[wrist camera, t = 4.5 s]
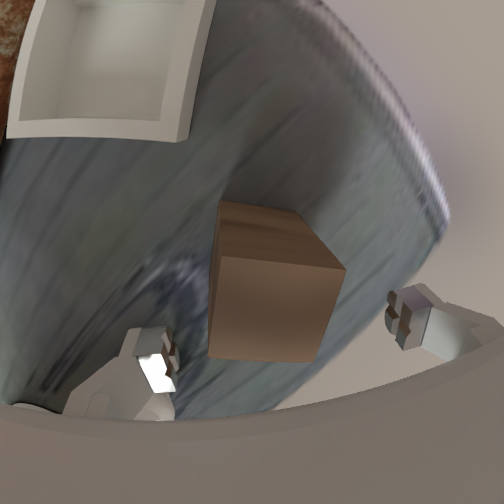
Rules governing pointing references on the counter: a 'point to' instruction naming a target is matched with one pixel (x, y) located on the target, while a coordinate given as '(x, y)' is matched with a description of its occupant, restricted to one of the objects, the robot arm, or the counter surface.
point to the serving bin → (109, 69)
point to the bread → (10, 48)
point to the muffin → (157, 408)
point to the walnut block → (268, 286)
